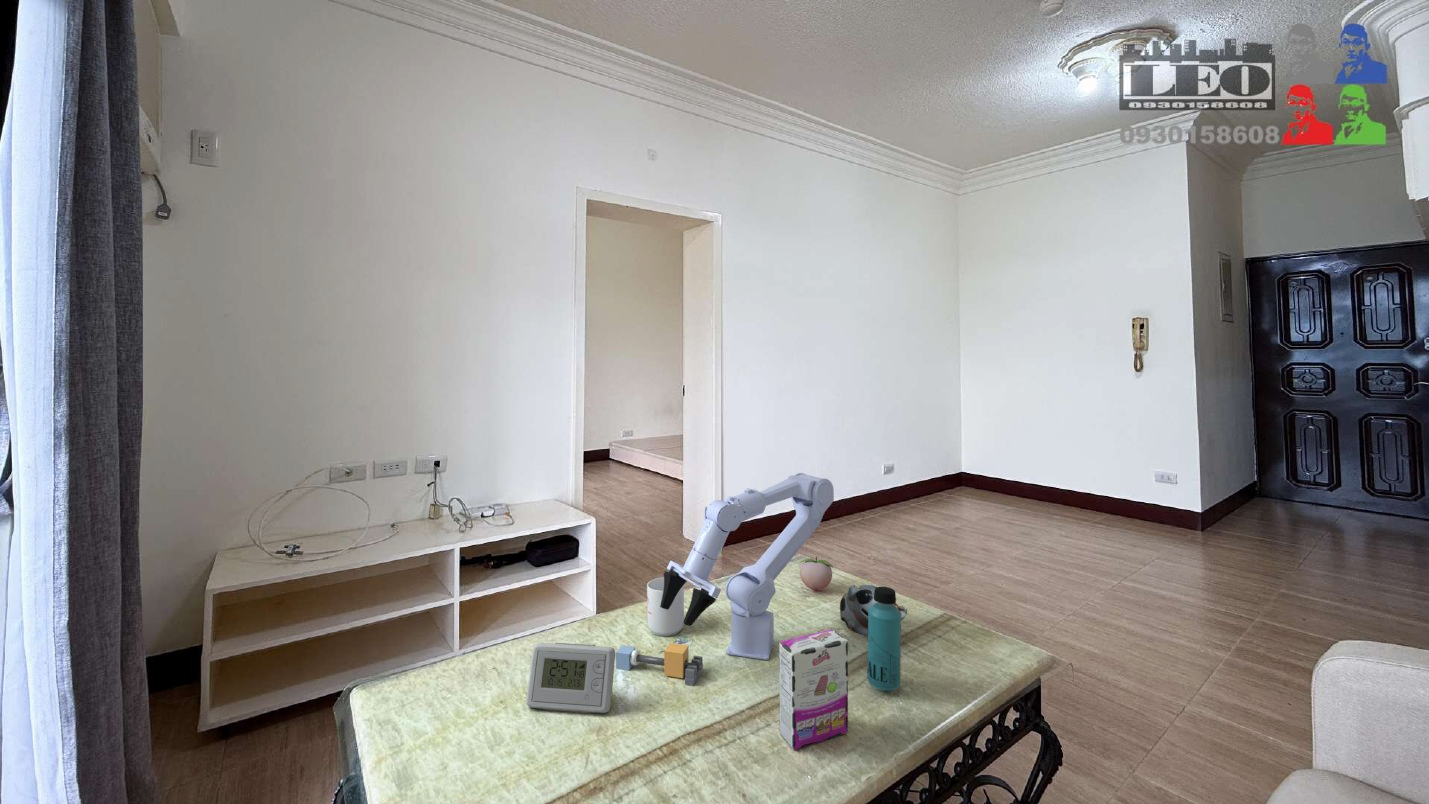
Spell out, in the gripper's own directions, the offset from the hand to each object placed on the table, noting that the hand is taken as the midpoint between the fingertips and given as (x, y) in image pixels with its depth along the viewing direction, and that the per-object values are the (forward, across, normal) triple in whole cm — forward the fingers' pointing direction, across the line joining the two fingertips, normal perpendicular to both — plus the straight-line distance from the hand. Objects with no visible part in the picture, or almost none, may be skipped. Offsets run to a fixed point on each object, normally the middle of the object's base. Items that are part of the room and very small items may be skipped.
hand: (675, 616), depth 110 cm
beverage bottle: (-6, +34, +26) cm, 43 cm away
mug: (+7, -16, +16) cm, 24 cm away
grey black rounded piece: (-15, +19, +46) cm, 52 cm away
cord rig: (+11, -1, +4) cm, 12 cm away
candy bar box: (+4, +32, +8) cm, 34 cm away
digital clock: (+21, -3, -12) cm, 25 cm away
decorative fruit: (-17, -3, +54) cm, 57 cm away
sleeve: (+10, +2, +5) cm, 12 cm away
